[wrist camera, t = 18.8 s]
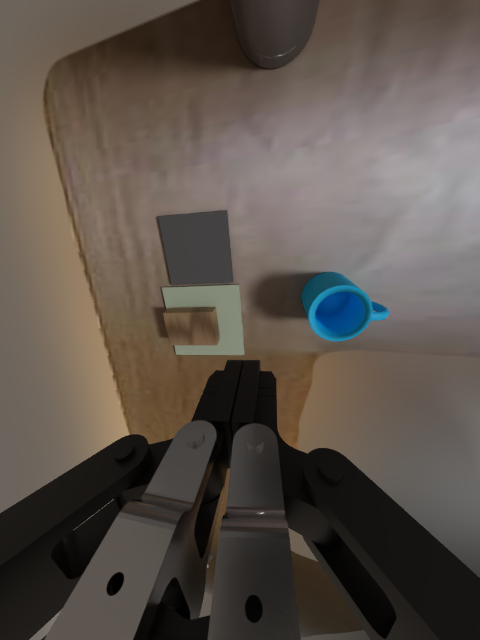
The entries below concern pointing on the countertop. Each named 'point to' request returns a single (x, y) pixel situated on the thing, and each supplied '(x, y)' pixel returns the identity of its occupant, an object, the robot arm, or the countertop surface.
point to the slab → (192, 326)
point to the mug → (338, 307)
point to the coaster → (197, 247)
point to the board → (227, 314)
